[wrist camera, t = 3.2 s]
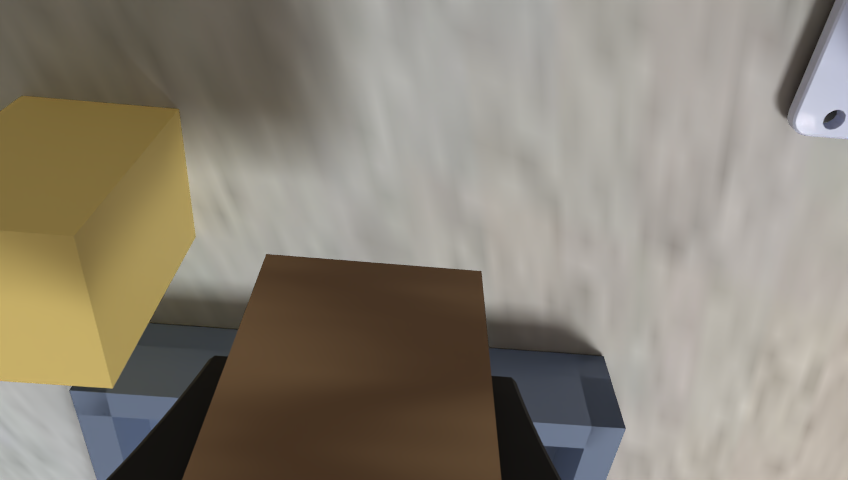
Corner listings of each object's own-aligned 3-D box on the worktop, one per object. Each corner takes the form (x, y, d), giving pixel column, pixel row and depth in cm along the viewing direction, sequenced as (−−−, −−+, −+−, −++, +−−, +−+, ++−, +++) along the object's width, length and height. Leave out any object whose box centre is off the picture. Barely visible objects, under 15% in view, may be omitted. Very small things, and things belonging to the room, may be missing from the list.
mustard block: (179, 108, 17) (73, 236, 12) (195, 236, 19) (112, 388, 14) (22, 95, 17) (-150, 218, 12) (57, 225, 19) (-76, 375, 14)
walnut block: (481, 271, 12) (512, 595, 7) (456, 415, 14) (468, 739, 9) (266, 254, 12) (146, 573, 7) (274, 402, 14) (189, 724, 9)
